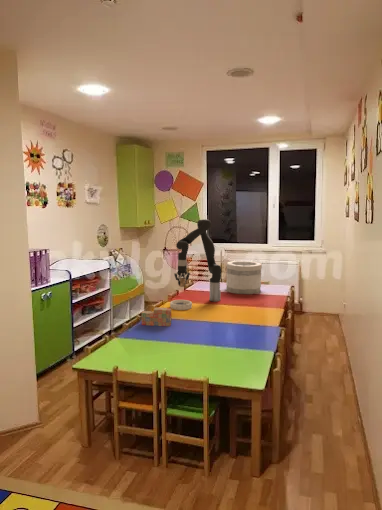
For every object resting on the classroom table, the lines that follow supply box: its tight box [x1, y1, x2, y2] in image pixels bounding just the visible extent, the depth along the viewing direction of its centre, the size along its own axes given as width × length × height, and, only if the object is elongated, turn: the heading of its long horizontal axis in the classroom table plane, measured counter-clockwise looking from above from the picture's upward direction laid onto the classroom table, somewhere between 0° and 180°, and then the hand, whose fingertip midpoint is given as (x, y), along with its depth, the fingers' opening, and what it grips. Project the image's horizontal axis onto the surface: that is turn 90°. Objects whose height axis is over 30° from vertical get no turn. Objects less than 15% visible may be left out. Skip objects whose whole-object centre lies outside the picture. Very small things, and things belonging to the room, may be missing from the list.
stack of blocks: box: [141, 307, 172, 327], centre depth 309 cm, size 21×6×12 cm, turn 85°
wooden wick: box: [178, 277, 186, 288], centre depth 355 cm, size 4×4×7 cm
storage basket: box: [225, 260, 263, 295], centre depth 423 cm, size 35×35×27 cm
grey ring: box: [169, 299, 193, 311], centre depth 357 cm, size 18×18×4 cm
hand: (181, 284), depth 355 cm, fingers closed on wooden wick, 4 cm apart
